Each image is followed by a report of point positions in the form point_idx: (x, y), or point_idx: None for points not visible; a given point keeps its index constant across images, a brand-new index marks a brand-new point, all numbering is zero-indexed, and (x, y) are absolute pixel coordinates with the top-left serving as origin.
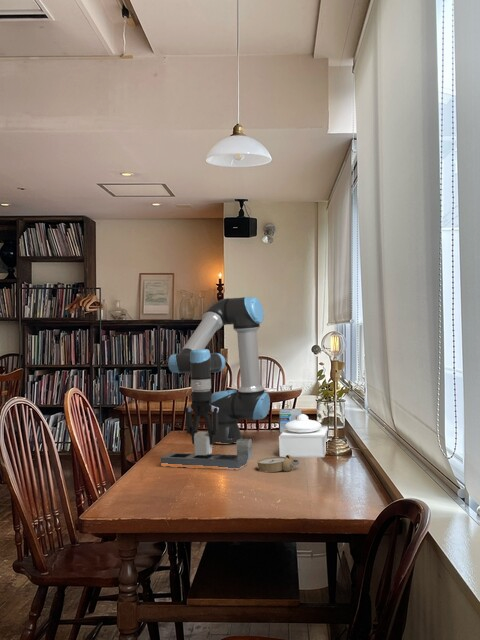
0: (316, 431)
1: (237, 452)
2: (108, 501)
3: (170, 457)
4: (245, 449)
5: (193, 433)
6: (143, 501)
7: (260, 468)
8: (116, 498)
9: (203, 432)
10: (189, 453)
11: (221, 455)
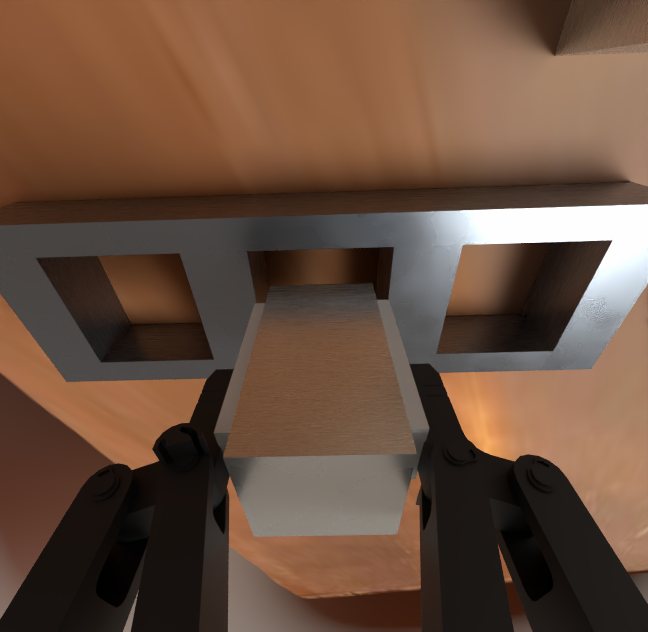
0: None
1: (627, 44)
2: (275, 567)
3: (123, 370)
4: None
5: (217, 510)
6: (343, 561)
7: None
8: (276, 559)
9: (336, 499)
10: (137, 231)
11: (457, 251)
